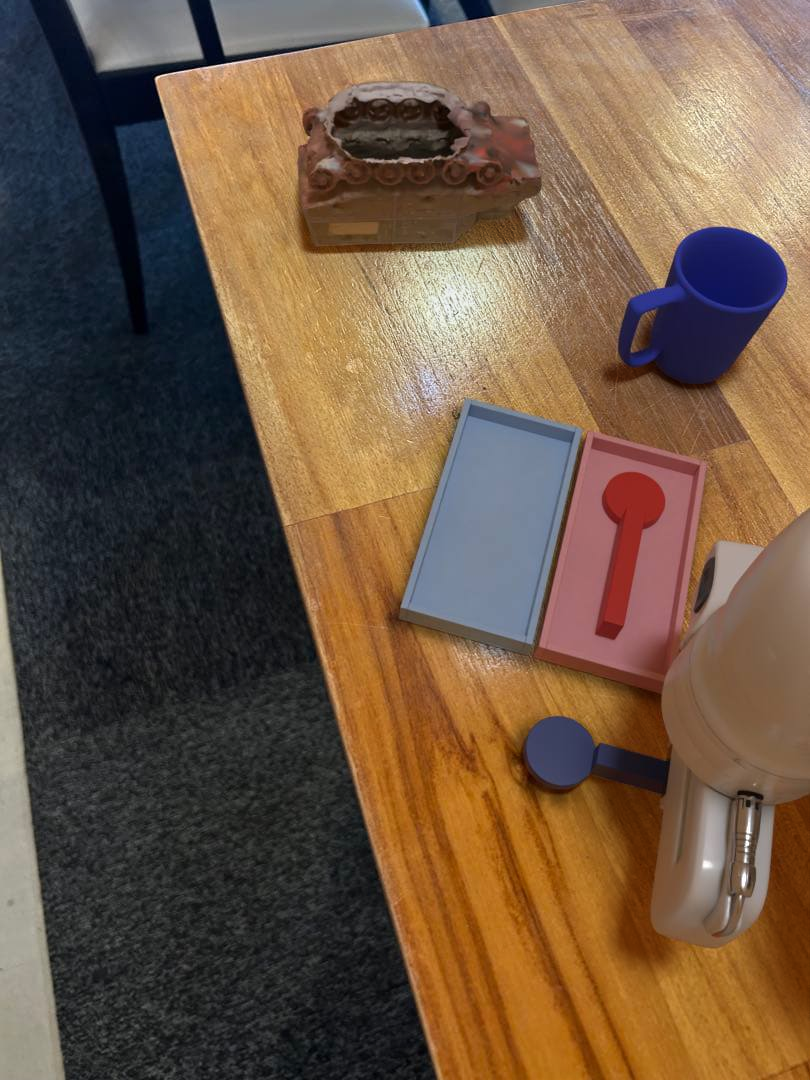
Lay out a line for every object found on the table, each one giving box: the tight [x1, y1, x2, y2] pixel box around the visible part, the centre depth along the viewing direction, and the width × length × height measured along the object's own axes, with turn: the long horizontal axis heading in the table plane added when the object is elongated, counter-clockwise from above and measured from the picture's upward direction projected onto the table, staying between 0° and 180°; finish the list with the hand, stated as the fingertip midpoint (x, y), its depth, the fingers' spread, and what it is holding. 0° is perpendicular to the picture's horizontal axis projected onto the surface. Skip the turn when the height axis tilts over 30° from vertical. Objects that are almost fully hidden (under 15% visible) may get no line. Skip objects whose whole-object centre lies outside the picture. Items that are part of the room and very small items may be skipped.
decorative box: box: [296, 79, 543, 248], centre depth 79 cm, size 13×20×10 cm, turn 89°
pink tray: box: [533, 430, 708, 695], centre depth 67 cm, size 9×18×2 cm, turn 164°
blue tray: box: [398, 397, 583, 656], centre depth 68 cm, size 9×18×2 cm, turn 164°
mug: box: [617, 226, 789, 385], centre depth 72 cm, size 8×12×10 cm
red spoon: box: [595, 472, 665, 640], centre depth 66 cm, size 13×4×2 cm, turn 164°
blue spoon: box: [522, 715, 670, 795], centre depth 58 cm, size 13×4×2 cm, turn 75°
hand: (676, 778), depth 58 cm, fingers closed on blue spoon, 1 cm apart
